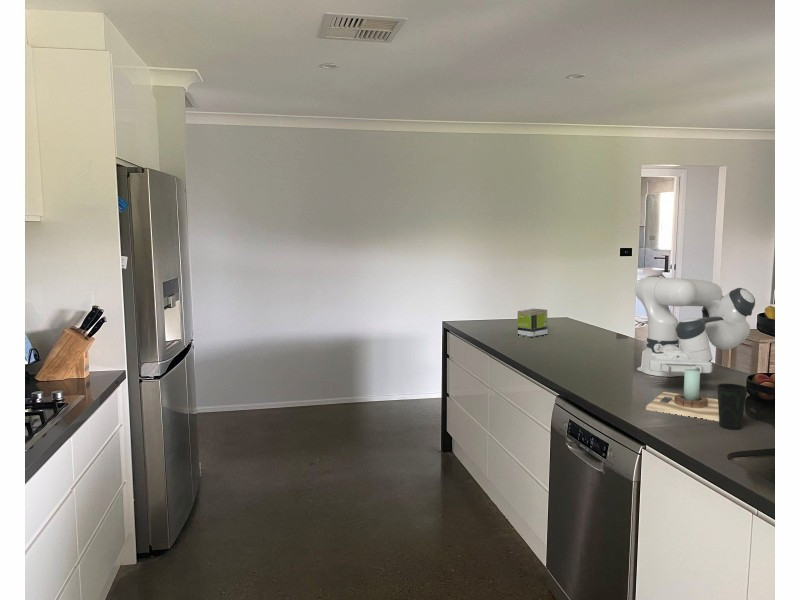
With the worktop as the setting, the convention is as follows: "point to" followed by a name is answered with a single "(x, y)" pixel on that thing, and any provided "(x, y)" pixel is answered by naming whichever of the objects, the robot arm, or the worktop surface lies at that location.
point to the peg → (691, 384)
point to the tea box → (532, 322)
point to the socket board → (685, 406)
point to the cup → (731, 405)
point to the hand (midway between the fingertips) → (684, 370)
